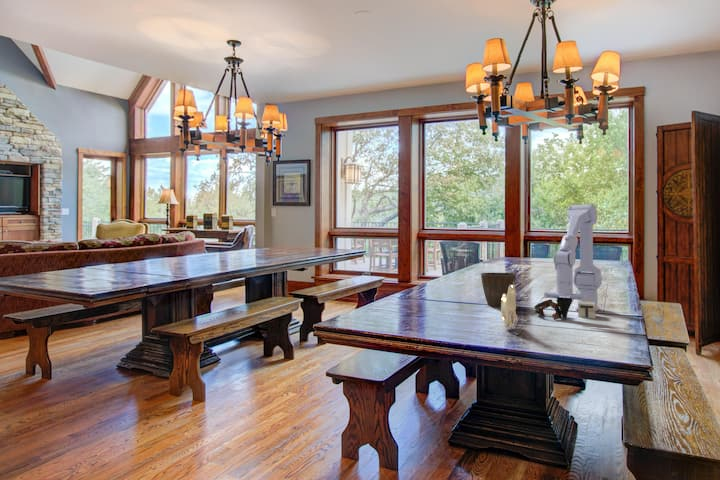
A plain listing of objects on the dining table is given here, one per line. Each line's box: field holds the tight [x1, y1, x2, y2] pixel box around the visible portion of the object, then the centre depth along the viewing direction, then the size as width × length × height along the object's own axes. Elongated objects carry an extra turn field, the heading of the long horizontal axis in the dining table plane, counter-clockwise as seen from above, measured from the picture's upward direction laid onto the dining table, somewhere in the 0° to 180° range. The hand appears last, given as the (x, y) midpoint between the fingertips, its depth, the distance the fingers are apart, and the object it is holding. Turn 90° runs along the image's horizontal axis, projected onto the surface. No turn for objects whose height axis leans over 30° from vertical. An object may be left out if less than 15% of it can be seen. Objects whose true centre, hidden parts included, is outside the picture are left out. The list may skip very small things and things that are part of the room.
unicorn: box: [500, 281, 518, 329], centre depth 172 cm, size 20×4×17 cm, turn 174°
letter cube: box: [577, 302, 596, 319], centre depth 192 cm, size 6×6×6 cm
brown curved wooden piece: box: [534, 298, 563, 321], centre depth 191 cm, size 12×9×8 cm
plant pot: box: [480, 272, 517, 309], centre depth 213 cm, size 15×15×16 cm
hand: (564, 317), depth 186 cm, fingers closed
